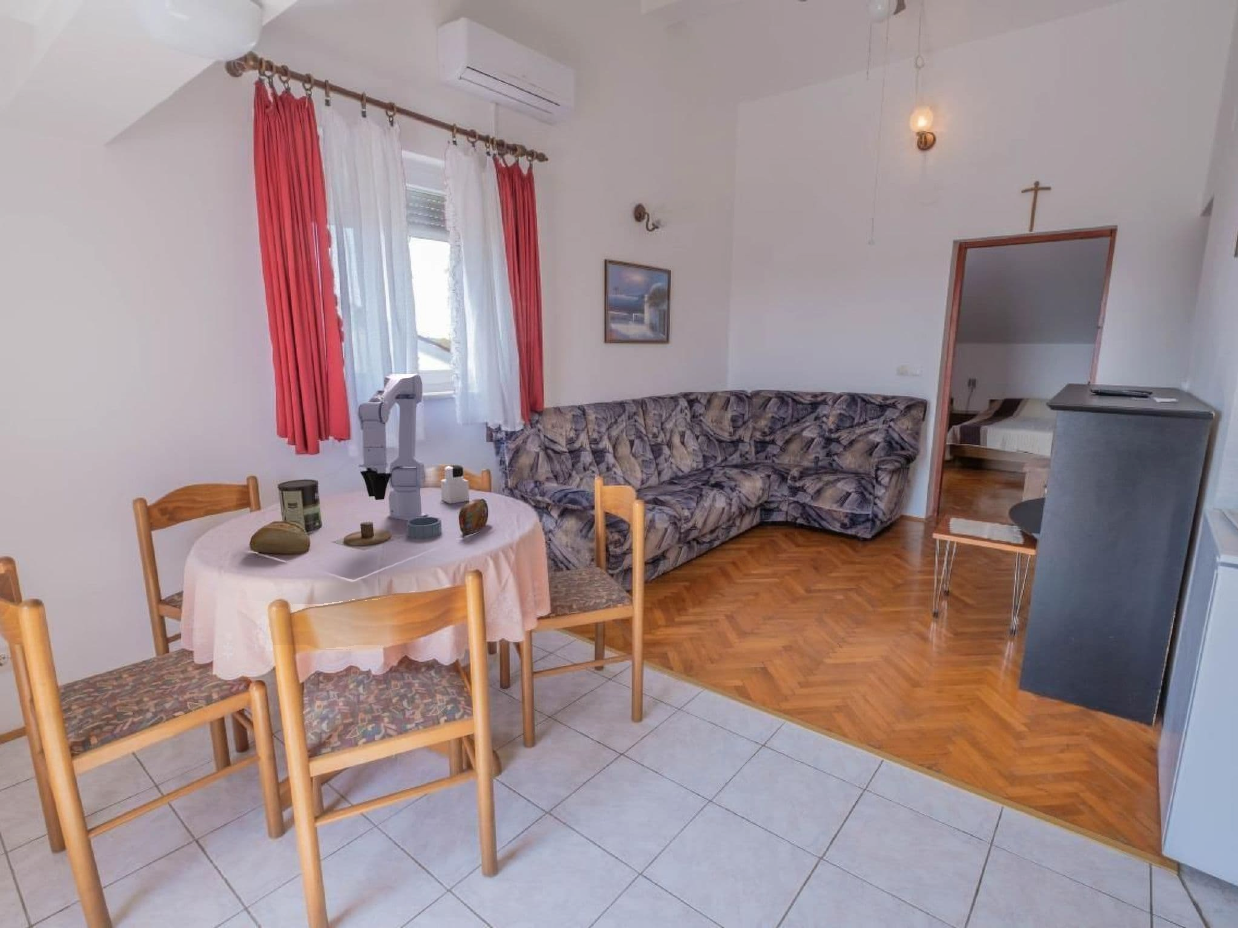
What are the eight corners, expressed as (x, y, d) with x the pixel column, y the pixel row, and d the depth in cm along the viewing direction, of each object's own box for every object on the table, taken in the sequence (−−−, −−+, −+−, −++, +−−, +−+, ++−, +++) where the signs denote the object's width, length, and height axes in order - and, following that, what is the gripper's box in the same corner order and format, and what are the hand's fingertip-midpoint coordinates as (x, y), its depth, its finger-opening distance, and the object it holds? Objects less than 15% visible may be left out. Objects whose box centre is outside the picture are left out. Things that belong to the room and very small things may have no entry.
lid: (334, 541, 165) (332, 526, 165) (371, 529, 176) (369, 515, 175) (364, 548, 160) (362, 532, 159) (400, 536, 170) (399, 521, 169)
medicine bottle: (460, 496, 215) (459, 463, 213) (469, 500, 210) (468, 466, 207) (441, 499, 211) (439, 465, 208) (449, 504, 205) (447, 469, 203)
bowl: (400, 536, 171) (399, 523, 170) (425, 528, 179) (424, 515, 178) (424, 541, 167) (423, 527, 166) (448, 533, 175) (447, 519, 174)
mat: (331, 543, 165) (331, 541, 165) (371, 530, 177) (371, 529, 176) (364, 551, 159) (363, 549, 159) (403, 537, 170) (403, 536, 170)
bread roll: (263, 546, 164) (260, 517, 162) (319, 546, 164) (316, 517, 162) (242, 558, 154) (238, 528, 153) (301, 558, 154) (298, 528, 153)
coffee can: (320, 523, 184) (316, 477, 181) (324, 532, 175) (319, 484, 172) (281, 528, 178) (276, 481, 176) (283, 538, 170) (278, 489, 167)
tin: (468, 538, 170) (466, 509, 169) (457, 537, 171) (456, 508, 169) (489, 522, 185) (488, 495, 183) (480, 522, 185) (478, 495, 184)
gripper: (353, 446, 166) (354, 495, 167) (364, 449, 154) (366, 502, 155) (380, 445, 170) (381, 494, 171) (393, 448, 158) (395, 500, 159)
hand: (376, 497), depth 164 cm, fingers open, 7 cm apart
